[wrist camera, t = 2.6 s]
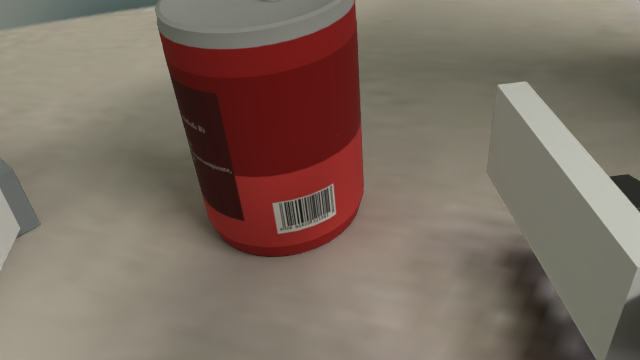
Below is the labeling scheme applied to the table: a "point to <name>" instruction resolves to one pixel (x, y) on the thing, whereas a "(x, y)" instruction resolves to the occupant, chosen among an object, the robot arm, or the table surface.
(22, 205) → the tray
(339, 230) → the canned food
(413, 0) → the table surface
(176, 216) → the table surface
